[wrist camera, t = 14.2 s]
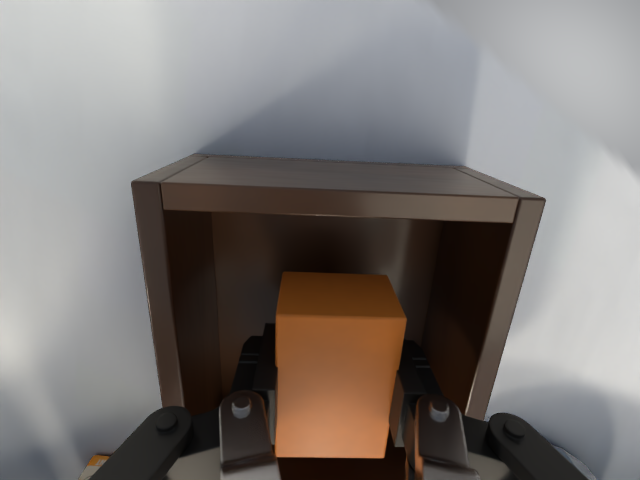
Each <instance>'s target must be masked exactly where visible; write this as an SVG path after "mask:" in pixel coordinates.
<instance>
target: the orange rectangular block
mask: <svg viewBox="0 0 640 480" xmlns="http://www.w3.org/2000/svg"><path fill="white" fill-rule="evenodd" d="M406 322H407V318H406V316H405V314H404V312H403V309H402V307H401V305H400V303H399V300H398V298H397V296H396V294H395V291H394V289H393V287H392V285H391V283H390V280H389V278H388V276H387V275H373V274H343V273H314V272H283V273H282V279H281V285H280V291H279V298H278V304H277V310H276V324H275V366H276V367H278V404H277V427H276V437H275V454H276V457H315V458H384V456H385V450H386V444H387V438H388V432H389V415H390V409H391V403H392V396H393V390H394V384H395V378H396V372H397V370H399V365H400V359H401V353H402V346H403V340H404V334H405V328H406Z"/></svg>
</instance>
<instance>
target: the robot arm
mask: <svg viewBox="0 0 640 480" xmlns="http://www.w3.org/2000/svg"><path fill="white" fill-rule="evenodd" d="M275 324H276V323H265V327H264V332H263V336H250V337H249V338H248V339H247V341H246V342H245V343H244V344H243V347H242V351H241V355H240V358H239V363H238V365H237V369H236V373H235V376H234V380H233V384H232V387H231V391H230V394H229V395H227V396H226V397H225V398H224V399H223V400H222V402H221V404H220V406H219V407H217V408H216V409H214V410H211V411H208V412H205V413H201V414H197V415H193V416H191V414H190V412H189V411H188V410H187V409H186V408H184V407H181V406H168V407H164V408H161V409H159V410H157V411H155V412H154V413H152V414H151V415H150V416H149V417H147V418H146V420H145V421H144V422H143V423H142V424H141V425H140V426H139V427H138V428H137V429H136V430H135V431H134V432H133V433H132V434H131V435H130V436H129V437H128V438H127V440H126V441H125V442H124V443H123V444H122V445H121V446H120V447H119V448H118V449H117V450H116V451H115V452H114V453H113V454H112V455H111V456H110V457H109V458H108V459H107V461H106V462H105V463H104V464H103V465H102V466H101V467H100V468H99V469H98V470H97V471H96V472H95V473H94V474H93V475H92V476H91V477H90V478H89V479H88V480H281V476H280V471H279V465H278V460H277V457H276V454H273V449H272V445H275V437H276V427H277V404H278V367H276V366H275ZM389 426H390V430H391V434H392V438H393V442H394V446H395V447H405V450H406V454H407V455H406V460H405V480H589V479H588V478H587V477H586V476H584V475H583V474H582V473H581V472H580V471H579V470H578V469H577V468H576V467H575V466H574V465H573V464H572V463H570V462H569V461H568V460H567V459H566V458H565V457H564V456H563V455H562V454H561V453H560V452H559V451H558V450H556V449H555V448H554V447H553V446H552V445H551V444H550V443H549V442H548V441H547V440H546V439H545V438H544V437H543V436H541V435H540V434H539V433H538V432H537V431H536V430H535V429H534V428H533V427H532V426H531V425H530V424H528V423H527V422H526V421H524V420H523V419H521V418H519V417H517V416H515V415H512V414H508V413H496V414H494V415H493V416H491V418H490V420H489V422H485V421H482V420H478V419H475V418H471V417H468V416H465V415H463V414H461V412H460V410H459V408H458V407H457V406H456V404H455V403H454V402H452V401H451V400H450V399H448V398H446V397H444V396H443V393H442V391H441V389H440V387H439V385H438V382H437V380H436V378H435V376H434V374H433V371H432V369H431V368H430V365H429V363H428V360H427V358H426V356H425V354H424V352H423V350H422V348H421V347H420V346H419V345H418V344H417V343H416V342H415V341H413V340H405V338H404V340H403V346H402V353H401V359H400V365H399V370H397V372H396V378H395V384H394V390H393V396H392V403H391V409H390V415H389Z"/></svg>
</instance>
